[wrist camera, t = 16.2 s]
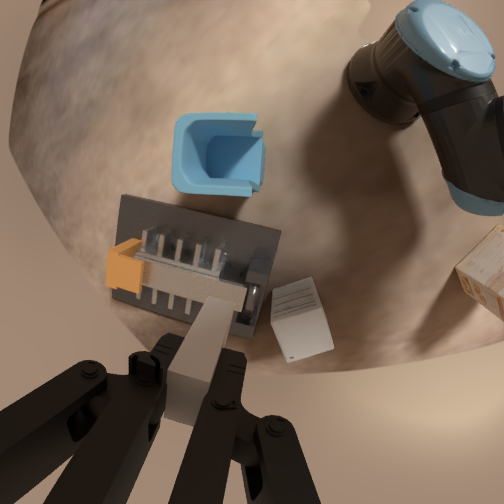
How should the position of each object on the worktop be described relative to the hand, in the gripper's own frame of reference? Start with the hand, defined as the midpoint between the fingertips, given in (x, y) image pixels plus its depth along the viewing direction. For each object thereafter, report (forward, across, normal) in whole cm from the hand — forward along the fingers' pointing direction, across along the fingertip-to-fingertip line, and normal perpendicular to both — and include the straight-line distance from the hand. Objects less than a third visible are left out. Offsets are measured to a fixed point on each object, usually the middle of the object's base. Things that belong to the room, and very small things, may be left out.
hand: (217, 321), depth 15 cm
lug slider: (+31, -17, -10) cm, 37 cm away
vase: (+33, -5, +9) cm, 34 cm away
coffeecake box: (+33, +46, +6) cm, 57 cm away
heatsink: (+32, -10, -10) cm, 35 cm away
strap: (+26, -7, -10) cm, 29 cm away
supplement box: (+33, +10, -11) cm, 36 cm away
